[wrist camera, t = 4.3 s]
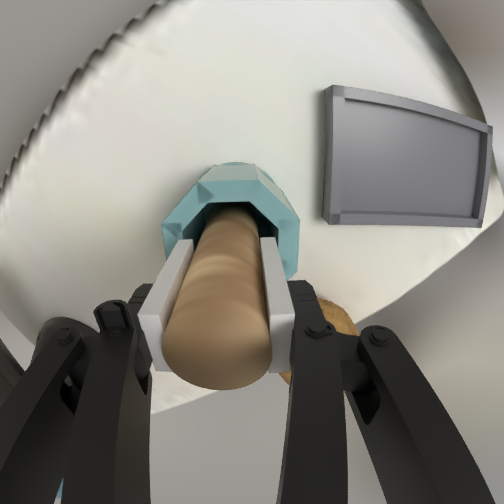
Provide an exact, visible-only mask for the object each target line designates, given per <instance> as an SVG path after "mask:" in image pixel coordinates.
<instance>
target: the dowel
mask: <svg viewBox="0 0 504 504" xmlns="http://www.w3.org/2000/svg"><path fill="white" fill-rule="evenodd" d="M161 350H162V355H163V357H164V360H165V362H166V363H167V365H168V366H169V368H170V369H171V370H172V371H173V372H174V373H175V374H176V375H178V376H179V377H180V378H182V379H183V380H185V381H187V382H189V383H191V384H193V385H196V386H199V387H202V388H207V389H213V390H231V389H237V388H241V387H245V386H247V385H250V384H252V383H254V382H255V381H257V380H258V379H260V378H261V377H262V376H263V375H264V374H265V373H266V372H267V370H268V369H269V367H270V365H271V362H272V356H273V355H272V344H271V339H270V333H269V324H268V315H267V306H266V298H265V289H264V281H263V272H262V263H261V255H260V244H259V236H258V228H257V220H256V212H255V206H254V205H253V204H252V203H251V202H250V201H242V202H215V205H214V207H213V209H212V212H211V214H210V216H209V219H208V221H207V224H206V226H205V228H204V231H203V233H202V236H201V238H200V241H199V243H198V245H197V248H196V250H195V253H194V255H193V258H192V260H191V263H190V266H189V268H188V271H187V273H186V276H185V278H184V281H183V284H182V286H181V289H180V292H179V294H178V297H177V300H176V302H175V305H174V308H173V311H172V313H171V316H170V319H169V322H168V325H167V327H166V330H165V333H164V336H163V339H162V344H161Z"/></svg>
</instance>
